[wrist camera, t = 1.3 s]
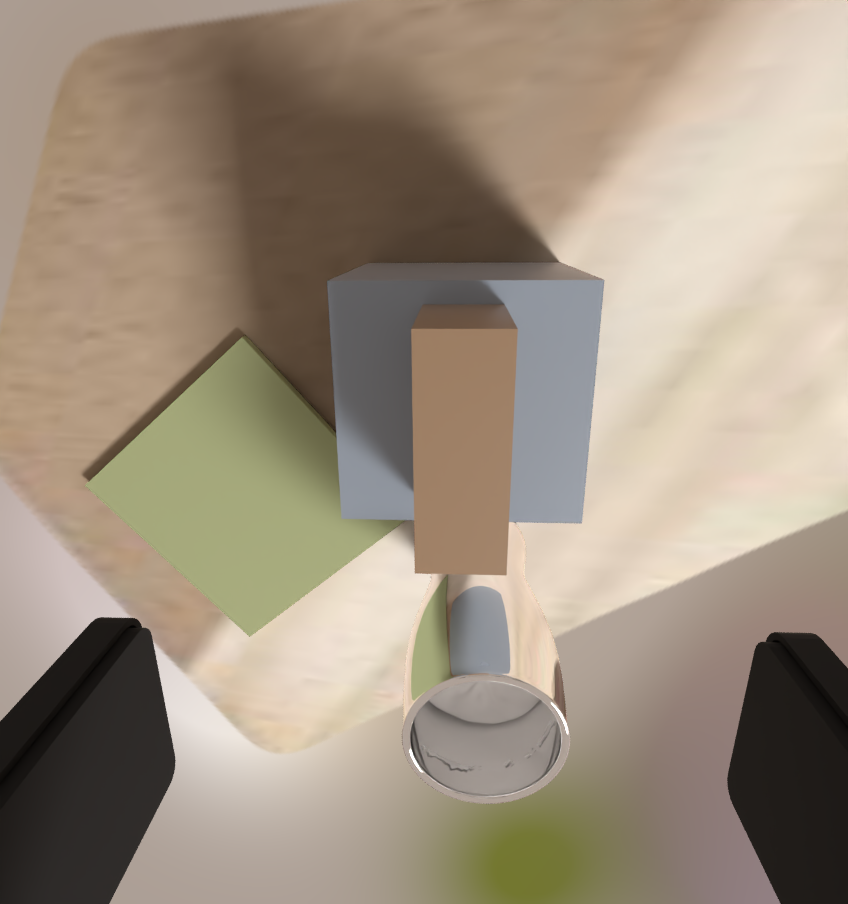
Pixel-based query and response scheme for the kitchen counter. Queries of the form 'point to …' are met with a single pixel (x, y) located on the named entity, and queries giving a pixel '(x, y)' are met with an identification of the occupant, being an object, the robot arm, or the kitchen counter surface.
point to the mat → (240, 490)
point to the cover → (464, 400)
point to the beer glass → (484, 687)
